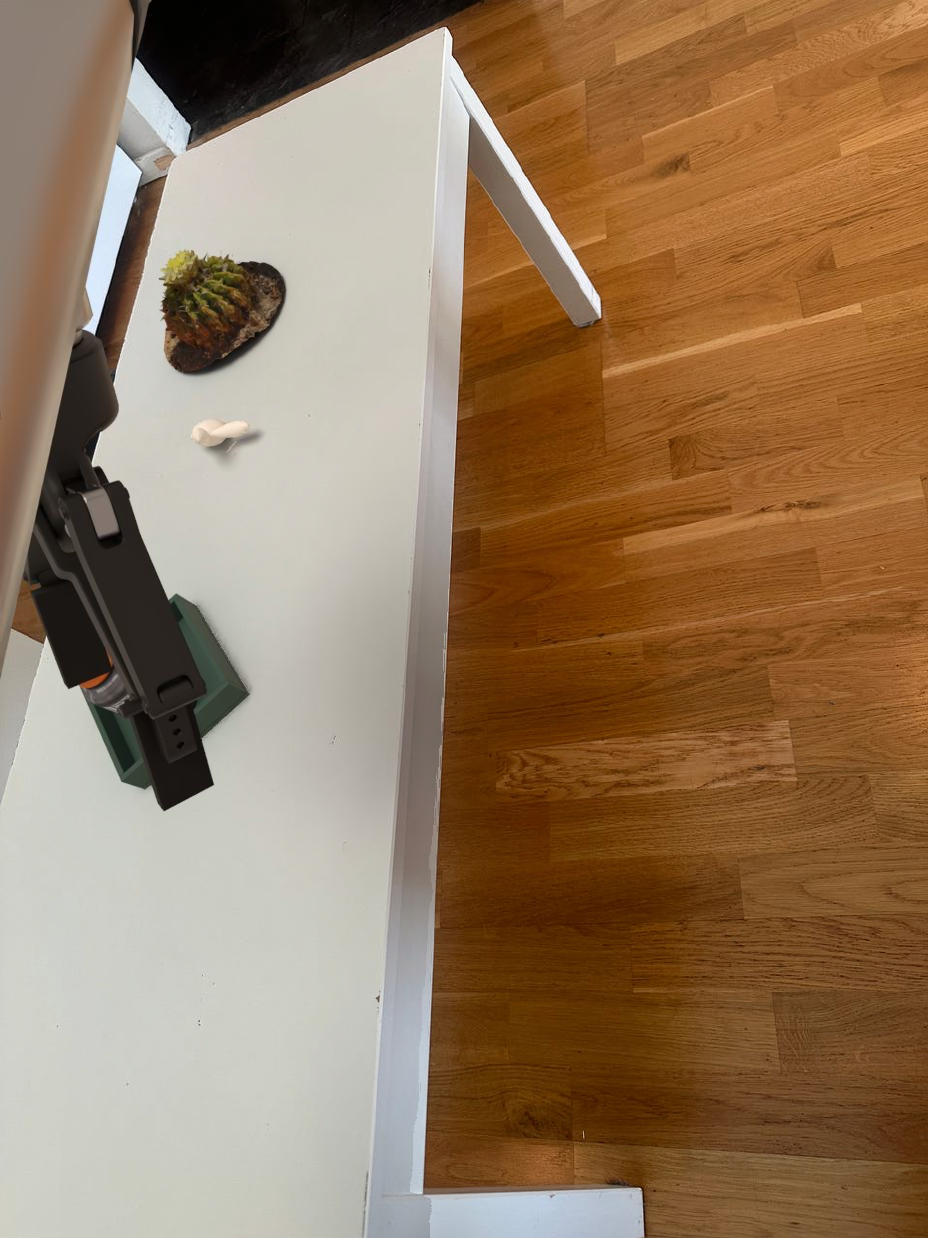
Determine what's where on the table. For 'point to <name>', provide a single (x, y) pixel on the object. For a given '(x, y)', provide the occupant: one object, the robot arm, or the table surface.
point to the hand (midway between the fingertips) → (133, 730)
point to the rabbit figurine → (217, 431)
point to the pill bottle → (106, 690)
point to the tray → (208, 709)
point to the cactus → (214, 306)
